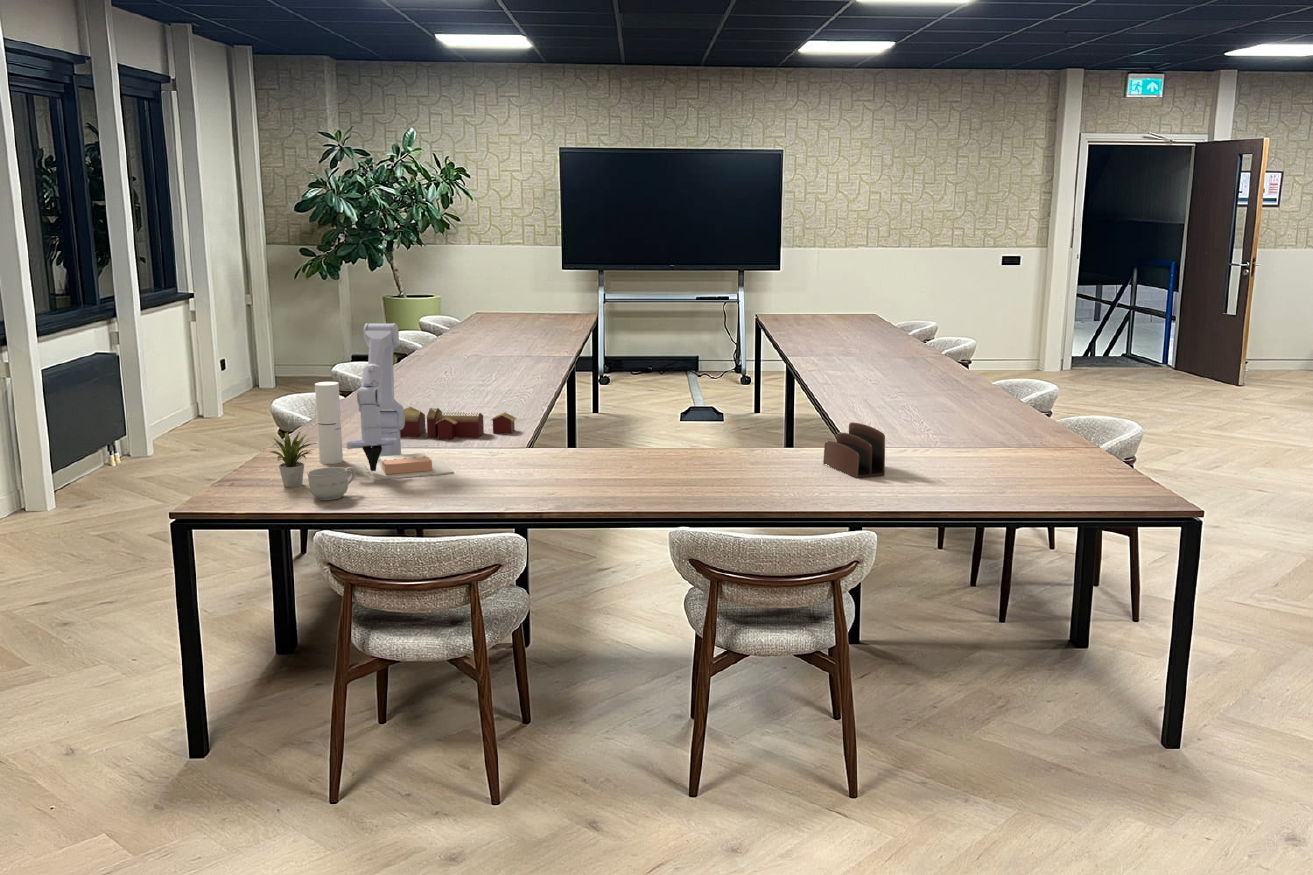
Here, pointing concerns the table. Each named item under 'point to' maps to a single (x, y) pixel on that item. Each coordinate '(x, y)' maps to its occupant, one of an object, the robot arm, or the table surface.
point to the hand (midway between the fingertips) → (373, 470)
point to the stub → (407, 465)
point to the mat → (437, 469)
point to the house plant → (292, 460)
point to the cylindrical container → (329, 422)
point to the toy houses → (452, 424)
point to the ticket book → (400, 457)
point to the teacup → (329, 482)
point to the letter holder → (857, 452)
